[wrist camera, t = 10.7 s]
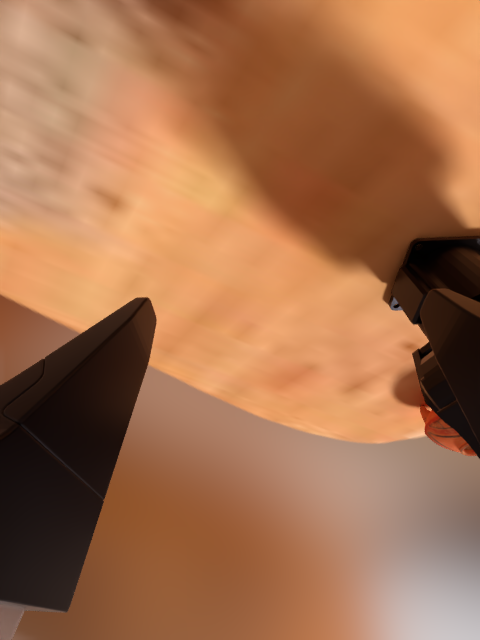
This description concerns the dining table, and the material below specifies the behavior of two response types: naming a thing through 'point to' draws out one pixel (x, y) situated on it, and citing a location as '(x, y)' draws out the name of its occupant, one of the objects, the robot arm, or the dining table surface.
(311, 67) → the dining table surface
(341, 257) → the dining table surface
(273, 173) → the dining table surface
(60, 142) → the dining table surface
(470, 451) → the pot
